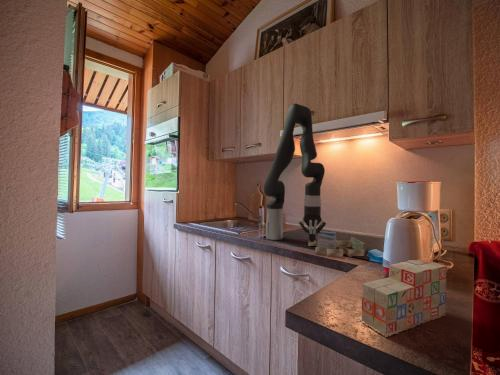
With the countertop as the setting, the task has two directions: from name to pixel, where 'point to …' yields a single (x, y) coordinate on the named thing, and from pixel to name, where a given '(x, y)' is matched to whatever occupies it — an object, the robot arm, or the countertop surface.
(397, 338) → the countertop surface
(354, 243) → the frame
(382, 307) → the stack of blocks
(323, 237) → the medicine box
